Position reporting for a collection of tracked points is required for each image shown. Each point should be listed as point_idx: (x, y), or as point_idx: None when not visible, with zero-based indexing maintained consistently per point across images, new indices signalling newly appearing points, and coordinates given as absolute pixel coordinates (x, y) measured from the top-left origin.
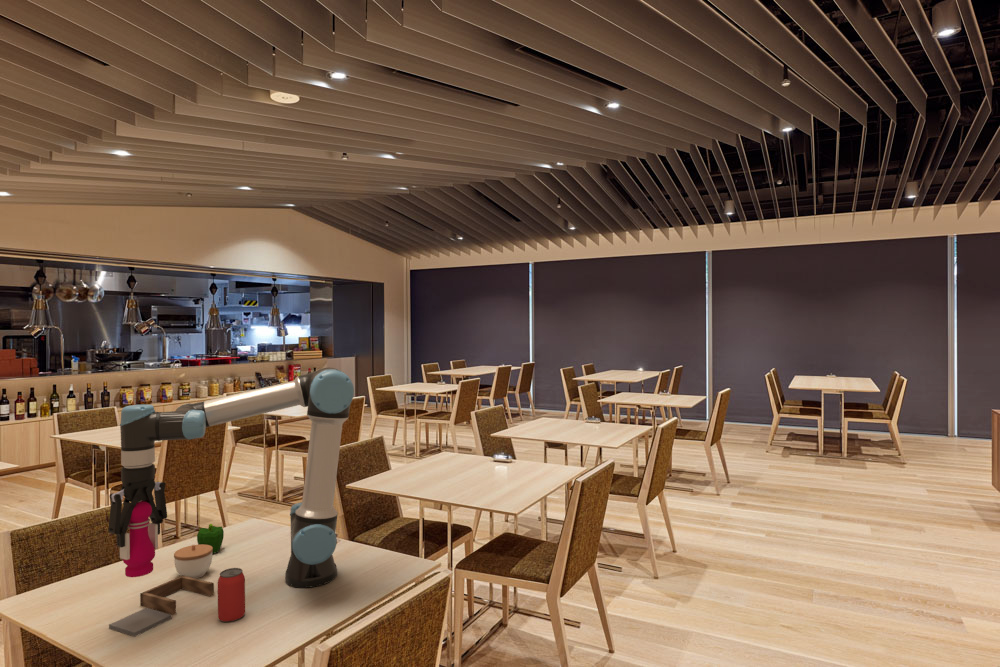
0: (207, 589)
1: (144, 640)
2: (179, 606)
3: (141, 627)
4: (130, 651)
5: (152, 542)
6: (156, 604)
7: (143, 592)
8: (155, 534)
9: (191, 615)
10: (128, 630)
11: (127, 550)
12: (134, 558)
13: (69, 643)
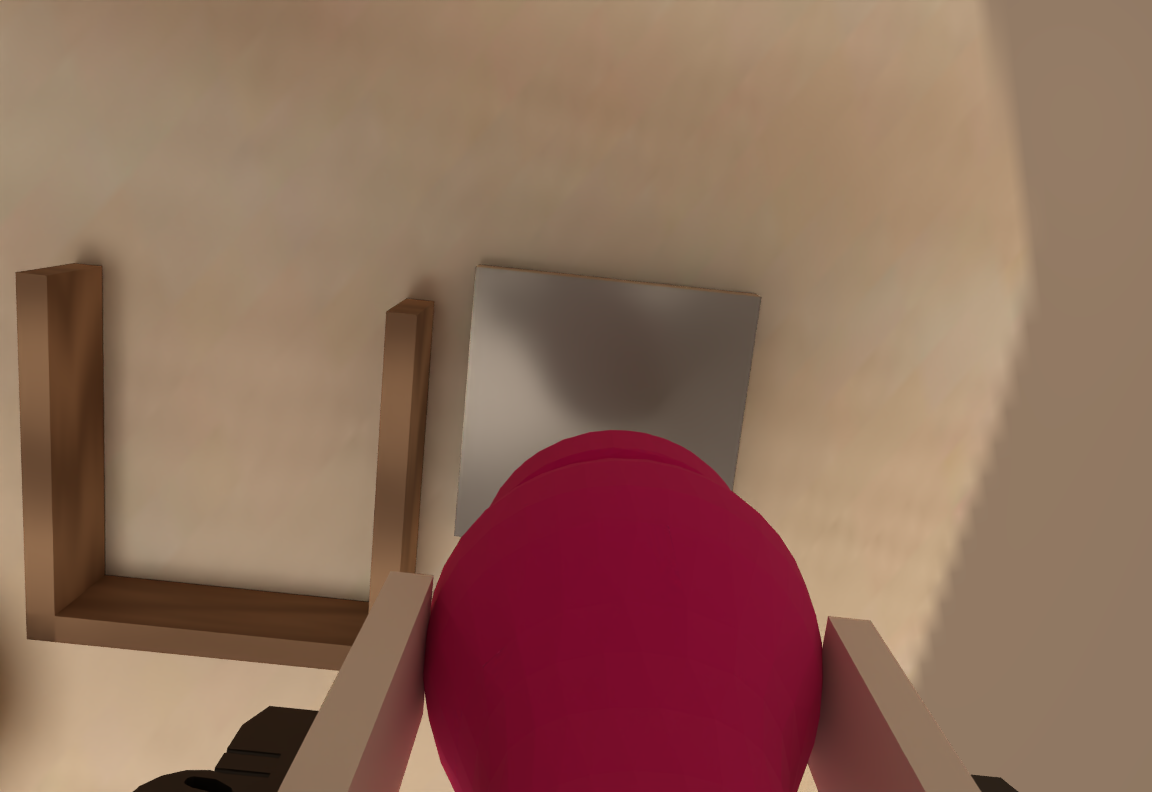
0: (75, 310)
1: (779, 183)
2: (315, 366)
3: (690, 316)
4: (922, 147)
5: (411, 682)
6: (414, 483)
7: None
8: (378, 696)
9: (391, 159)
10: (750, 365)
11: (904, 688)
12: (793, 570)
13: (928, 616)
